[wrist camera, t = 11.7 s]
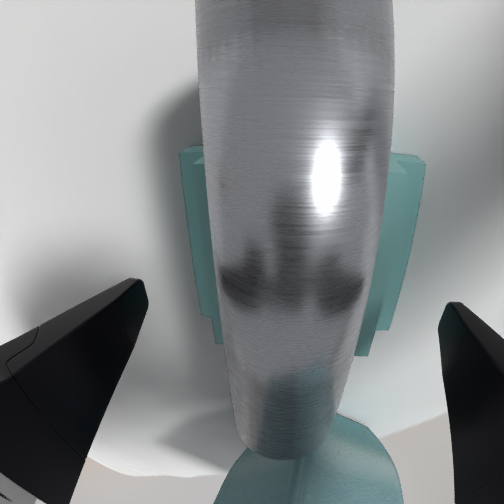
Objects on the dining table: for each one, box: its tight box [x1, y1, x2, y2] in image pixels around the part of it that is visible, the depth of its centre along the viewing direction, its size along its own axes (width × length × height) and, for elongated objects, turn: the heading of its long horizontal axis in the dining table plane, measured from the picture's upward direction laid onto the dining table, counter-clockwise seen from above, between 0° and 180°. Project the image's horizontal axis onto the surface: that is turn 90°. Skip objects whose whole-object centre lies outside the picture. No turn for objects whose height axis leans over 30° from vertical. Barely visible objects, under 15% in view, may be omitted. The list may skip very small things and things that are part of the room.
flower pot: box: [214, 413, 404, 504], centre depth 15 cm, size 9×9×9 cm
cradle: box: [179, 146, 426, 356], centre depth 11 cm, size 8×7×2 cm
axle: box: [195, 0, 395, 460], centre depth 8 cm, size 4×14×4 cm, turn 2°
